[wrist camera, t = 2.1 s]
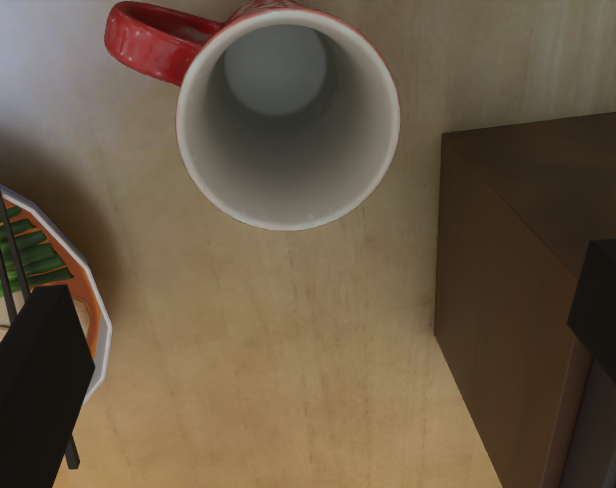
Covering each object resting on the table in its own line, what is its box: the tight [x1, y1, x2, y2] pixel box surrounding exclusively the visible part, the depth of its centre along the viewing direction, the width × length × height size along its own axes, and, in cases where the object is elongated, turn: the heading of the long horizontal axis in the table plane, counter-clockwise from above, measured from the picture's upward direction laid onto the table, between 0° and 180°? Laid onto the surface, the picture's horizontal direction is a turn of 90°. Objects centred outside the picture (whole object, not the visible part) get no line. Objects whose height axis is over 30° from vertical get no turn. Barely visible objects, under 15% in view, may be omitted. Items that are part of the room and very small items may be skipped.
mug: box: [104, 0, 401, 231], centre depth 26 cm, size 13×9×14 cm
